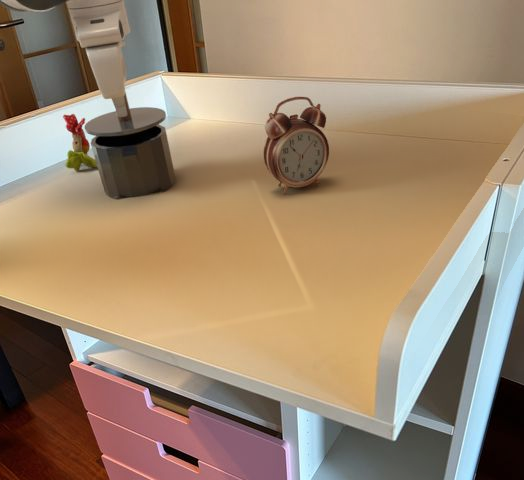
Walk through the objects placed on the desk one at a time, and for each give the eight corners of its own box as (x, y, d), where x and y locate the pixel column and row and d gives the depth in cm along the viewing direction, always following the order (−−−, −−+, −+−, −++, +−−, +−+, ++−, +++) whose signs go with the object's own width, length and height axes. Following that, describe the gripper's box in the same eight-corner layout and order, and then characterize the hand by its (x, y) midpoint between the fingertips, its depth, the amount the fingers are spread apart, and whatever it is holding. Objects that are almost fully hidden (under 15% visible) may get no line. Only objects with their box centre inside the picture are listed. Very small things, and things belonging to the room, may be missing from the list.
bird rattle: (73, 174, 123) (65, 171, 115) (60, 121, 121) (50, 113, 112) (101, 170, 124) (96, 166, 115) (89, 116, 121) (82, 108, 112)
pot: (103, 211, 100) (87, 158, 94) (107, 174, 115) (94, 126, 109) (178, 198, 101) (167, 145, 95) (173, 163, 116) (163, 115, 110)
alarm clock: (276, 199, 96) (267, 107, 87) (265, 190, 100) (256, 101, 91) (333, 184, 99) (330, 93, 89) (320, 175, 102) (317, 87, 93)
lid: (83, 145, 95) (72, 110, 92) (89, 121, 107) (79, 89, 103) (168, 131, 96) (161, 95, 93) (165, 109, 108) (158, 77, 104)
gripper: (86, 19, 99) (107, 101, 108) (76, 37, 83) (102, 132, 92) (121, 13, 100) (140, 96, 108) (119, 30, 84) (141, 126, 92)
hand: (123, 113), depth 100 cm, fingers closed on lid, 2 cm apart
